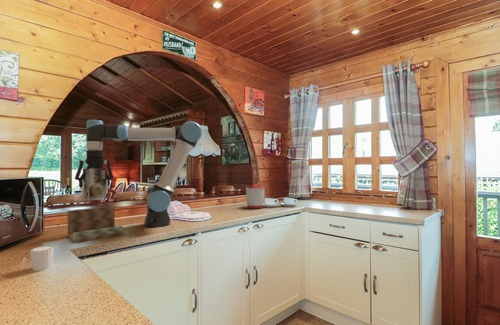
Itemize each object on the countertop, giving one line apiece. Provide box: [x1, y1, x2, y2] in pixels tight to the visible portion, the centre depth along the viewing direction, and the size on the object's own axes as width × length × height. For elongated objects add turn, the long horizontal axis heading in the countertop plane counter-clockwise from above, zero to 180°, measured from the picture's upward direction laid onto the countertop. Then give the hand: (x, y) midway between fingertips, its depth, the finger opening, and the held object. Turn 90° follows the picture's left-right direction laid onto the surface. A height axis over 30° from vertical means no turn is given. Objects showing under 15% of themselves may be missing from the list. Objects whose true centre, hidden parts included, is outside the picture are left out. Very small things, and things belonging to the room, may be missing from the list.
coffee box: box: [82, 167, 107, 201], centre depth 144 cm, size 9×6×16 cm
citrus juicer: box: [245, 183, 265, 210], centre depth 228 cm, size 16×17×20 cm
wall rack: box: [66, 205, 125, 244], centre depth 143 cm, size 22×18×13 cm
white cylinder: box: [29, 245, 55, 272], centre depth 99 cm, size 7×7×7 cm
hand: (94, 192), depth 144 cm, fingers closed on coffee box, 10 cm apart
